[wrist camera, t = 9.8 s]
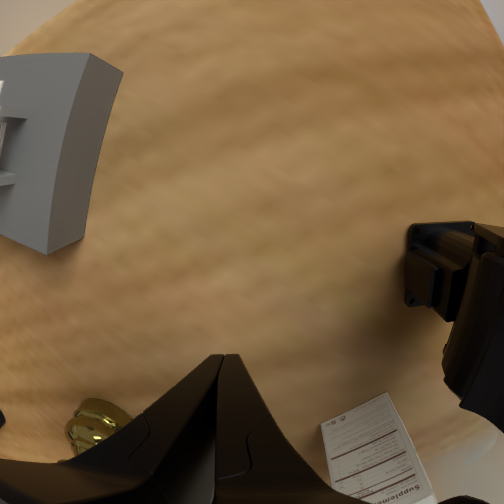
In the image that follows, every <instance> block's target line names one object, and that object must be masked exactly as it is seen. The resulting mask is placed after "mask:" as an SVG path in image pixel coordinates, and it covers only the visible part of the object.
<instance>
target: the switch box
mask: <svg viewBox="0 0 504 504" xmlns="http://www.w3.org/2000/svg"><path fill="white" fill-rule="evenodd" d="M123 73H124V72H122V71H120V70H119V69H117V68H115V67H114V66H112V65H110V64H109V63H107V62H105V61H103V60H102V59H100V58H98V57H96V56H95V55H93V54H91V53H42V54H26V55H15V56H6V57H0V122H5V123H7V124H6V129H5V134H4V138H3V144H2V149H1V155H0V234H1V235H3V236H5V237H7V238H9V239H11V240H14V241H16V242H18V243H20V244H22V245H25V246H27V247H29V248H31V249H34V250H36V251H38V252H40V253H43V254H45V255H48V254H50V253H52V252H54V251H56V250H58V249H61V248H63V247H65V246H67V245H69V244H71V243H73V242H75V241H78V240H80V239H82V238H84V233H85V226H86V219H87V213H88V206H89V201H90V195H91V190H92V185H93V180H94V175H95V170H96V166H97V161H98V157H99V153H100V149H101V145H102V141H103V137H104V133H105V129H106V126H107V122H108V119H109V115H110V112H111V109H112V105H113V102H114V99H115V96H116V93H117V90H118V87H119V84H120V81H121V78H122V75H123Z"/></svg>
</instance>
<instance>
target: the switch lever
mask: <svg viewBox="0 0 504 504" xmlns="http://www.w3.org/2000/svg"><path fill="white" fill-rule="evenodd" d="M6 124H7V123H5V122H0V155H1V149H2V144H3V138H4V134H5V129H6Z"/></svg>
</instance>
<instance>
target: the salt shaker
mask: <svg viewBox="0 0 504 504" xmlns="http://www.w3.org/2000/svg"><path fill="white" fill-rule="evenodd" d="M130 421H132V419H131V418H130V417H129V416H128V415H127V414H126V413H125V412H124V411H122V410H121V409H120V408H118V407H117V406H115V405H113V404H111V403H109V402H106V401H104V400H100V399H86V400H84V401H83V402H82V403H81V404H80V406H79V407H78V409H77V410H76V411H75V412H74V413H73V418H72V419H71V420H69V421H68V422H67V424H66V425H65V435H66V438H67V440H68V442H69V444H70V445H71V449H72V450H73V452H74V456H77V455H79V454H80V453H82V452H84V451H86V450H87V449H89V448H91V447H92V446H94V445H96V444H97V443H99V442H101V441H102V440H104V439H106V438H107V437H109V436H110V435H112V434H113V433H115V432H117V431H118V430H120V429H121V428H122V427H124V426H125V425H126V424H128V423H129V422H130ZM64 461H67V460H59V461H58V462H57V463H59V462H64Z"/></svg>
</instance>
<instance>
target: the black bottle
mask: <svg viewBox="0 0 504 504" xmlns="http://www.w3.org/2000/svg"><path fill="white" fill-rule="evenodd" d="M4 423H5V418H4V416H3V414H2V412H1V411H0V428H1V427H2V426H3V425H4Z"/></svg>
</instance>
